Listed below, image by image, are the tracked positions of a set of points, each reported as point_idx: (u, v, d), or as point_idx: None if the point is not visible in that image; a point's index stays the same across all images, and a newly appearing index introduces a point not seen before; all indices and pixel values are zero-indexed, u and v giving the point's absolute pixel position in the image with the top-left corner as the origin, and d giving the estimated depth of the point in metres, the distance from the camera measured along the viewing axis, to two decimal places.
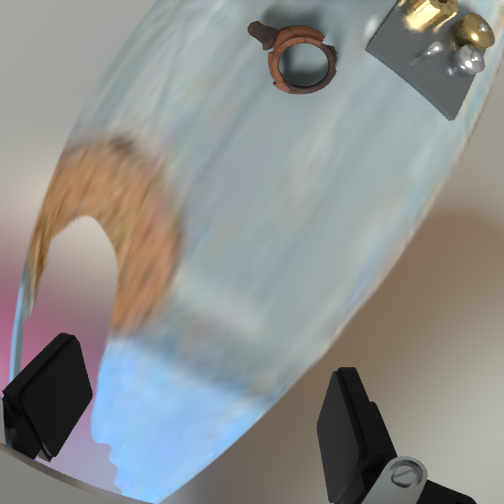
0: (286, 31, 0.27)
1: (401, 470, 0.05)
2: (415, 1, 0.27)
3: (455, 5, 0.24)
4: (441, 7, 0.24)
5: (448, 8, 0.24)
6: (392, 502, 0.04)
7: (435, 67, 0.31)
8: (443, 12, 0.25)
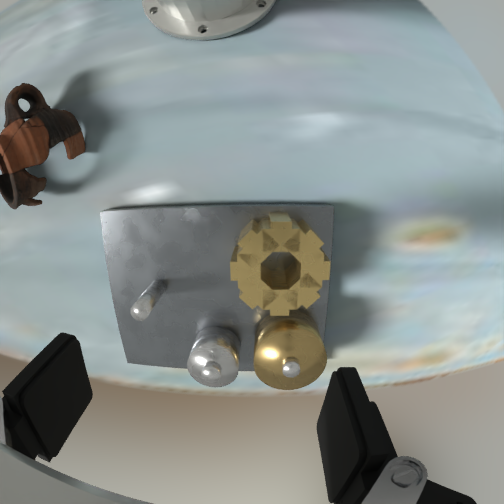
0: (16, 125, 0.18)
1: (401, 470, 0.05)
2: (242, 232, 0.23)
3: (291, 306, 0.22)
4: (248, 285, 0.21)
5: (263, 297, 0.22)
6: (392, 502, 0.04)
7: (162, 312, 0.27)
8: (243, 291, 0.22)
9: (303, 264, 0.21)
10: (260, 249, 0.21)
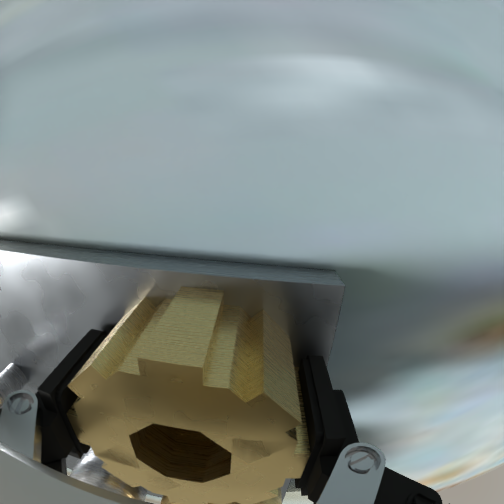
0: None
1: (357, 456, 0.06)
2: (109, 334, 0.09)
3: (212, 500, 0.07)
4: (114, 458, 0.07)
5: (150, 481, 0.07)
6: (345, 486, 0.05)
7: None
8: (109, 459, 0.07)
9: (238, 455, 0.07)
10: (121, 411, 0.06)
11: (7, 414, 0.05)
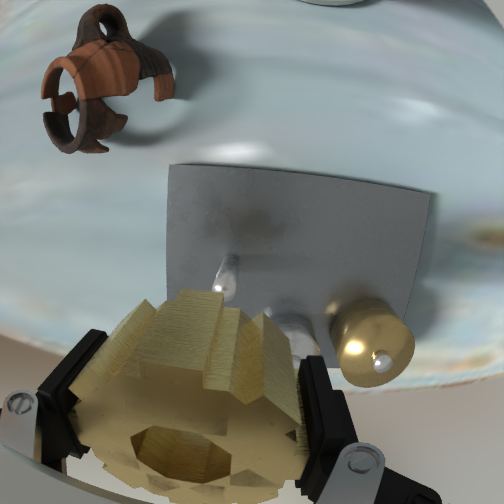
0: (96, 45, 0.14)
1: (357, 456, 0.06)
2: (110, 336, 0.09)
3: (212, 501, 0.07)
4: (114, 459, 0.07)
5: (151, 482, 0.07)
6: (344, 486, 0.05)
7: None
8: (110, 461, 0.07)
9: (238, 457, 0.07)
10: (122, 413, 0.06)
11: (7, 414, 0.05)
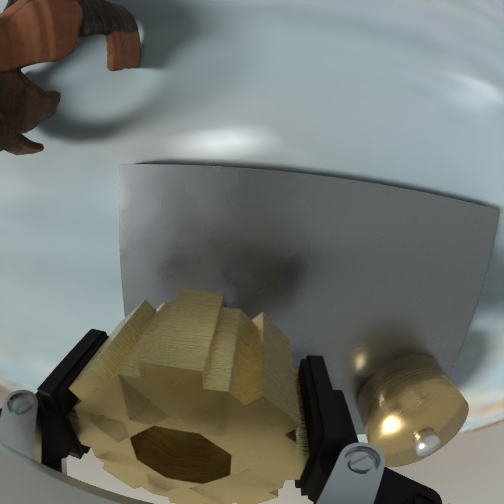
0: None
1: (357, 456, 0.06)
2: (110, 336, 0.09)
3: (212, 501, 0.07)
4: (115, 459, 0.07)
5: (151, 482, 0.07)
6: (344, 486, 0.05)
7: None
8: (110, 461, 0.07)
9: (238, 457, 0.07)
10: (122, 414, 0.06)
11: (7, 414, 0.05)
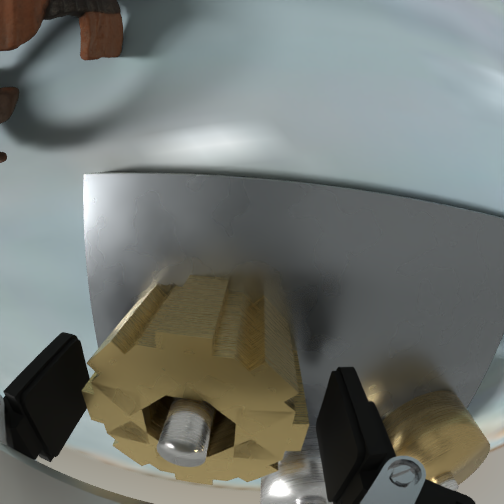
0: None
1: (399, 469, 0.05)
2: (124, 318, 0.10)
3: (216, 476, 0.09)
4: (125, 435, 0.08)
5: (159, 457, 0.08)
6: (390, 501, 0.04)
7: None
8: (121, 437, 0.08)
9: (241, 426, 0.08)
10: (137, 385, 0.07)
11: None
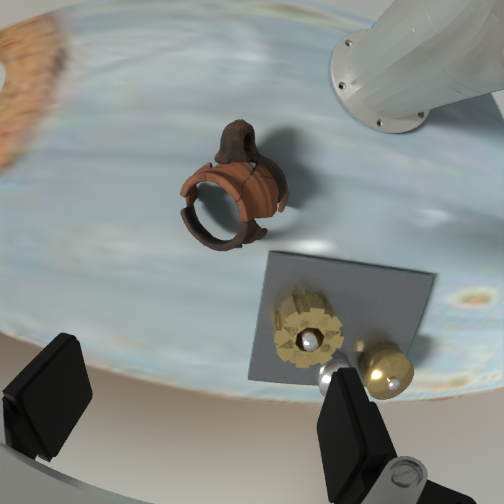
0: (246, 169, 0.25)
1: (401, 470, 0.05)
2: (284, 306, 0.31)
3: (311, 362, 0.30)
4: (285, 346, 0.29)
5: (294, 355, 0.29)
6: (392, 502, 0.04)
7: None
8: (280, 349, 0.29)
9: (325, 337, 0.29)
10: (299, 324, 0.28)
11: None
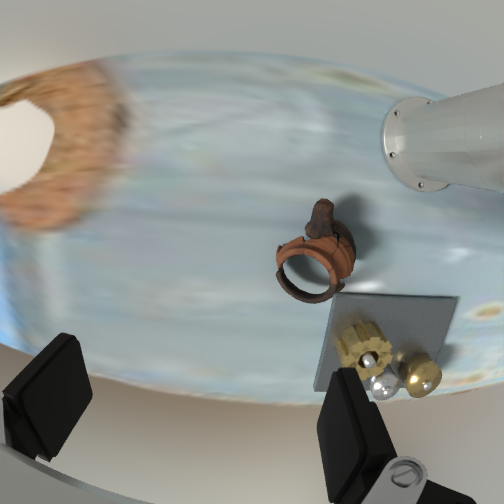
0: (333, 243, 0.31)
1: (401, 470, 0.05)
2: (348, 335, 0.37)
3: (368, 375, 0.36)
4: (351, 366, 0.36)
5: None
6: (392, 502, 0.04)
7: None
8: None
9: (380, 356, 0.35)
10: (361, 349, 0.35)
11: None
